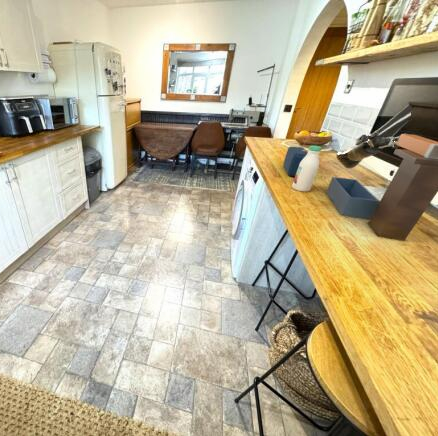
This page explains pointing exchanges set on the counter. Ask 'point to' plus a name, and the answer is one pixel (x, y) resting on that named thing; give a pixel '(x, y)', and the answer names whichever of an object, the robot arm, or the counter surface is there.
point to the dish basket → (352, 198)
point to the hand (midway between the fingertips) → (391, 134)
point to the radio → (294, 159)
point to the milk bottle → (307, 170)
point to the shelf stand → (406, 196)
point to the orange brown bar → (419, 145)
